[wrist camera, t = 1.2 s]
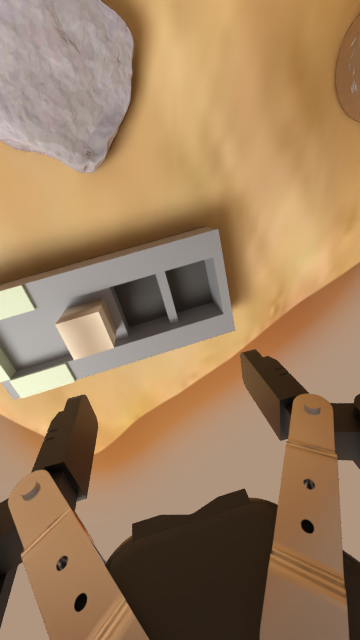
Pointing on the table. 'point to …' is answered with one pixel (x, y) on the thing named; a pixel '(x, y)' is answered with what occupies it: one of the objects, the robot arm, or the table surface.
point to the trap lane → (115, 309)
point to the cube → (87, 329)
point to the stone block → (63, 78)
